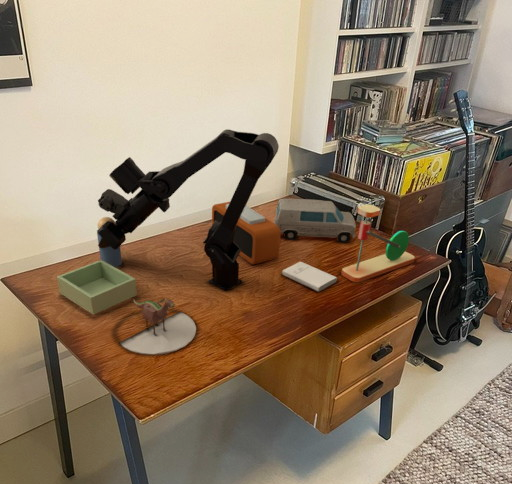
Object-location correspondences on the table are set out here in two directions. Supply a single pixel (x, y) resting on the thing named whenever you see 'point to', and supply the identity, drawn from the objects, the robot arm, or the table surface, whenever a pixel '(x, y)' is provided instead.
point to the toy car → (313, 219)
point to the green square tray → (97, 286)
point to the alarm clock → (252, 234)
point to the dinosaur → (161, 330)
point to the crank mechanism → (384, 262)
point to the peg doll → (109, 248)
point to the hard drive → (309, 276)
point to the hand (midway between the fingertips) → (104, 242)
